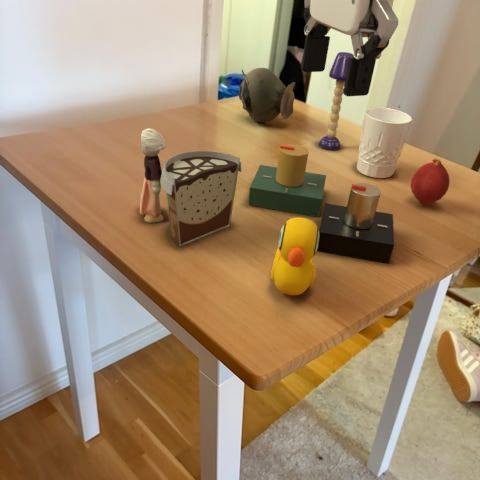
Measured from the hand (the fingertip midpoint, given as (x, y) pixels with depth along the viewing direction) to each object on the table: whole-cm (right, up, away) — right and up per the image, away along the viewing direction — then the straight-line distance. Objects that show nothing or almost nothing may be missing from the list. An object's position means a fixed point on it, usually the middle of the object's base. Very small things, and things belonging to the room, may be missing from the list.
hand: (332, 82), depth 64 cm
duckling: (-5, -25, +2) cm, 26 cm away
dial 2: (+5, -15, +10) cm, 19 cm away
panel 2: (+5, -17, +12) cm, 22 cm away
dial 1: (-4, -7, +19) cm, 20 cm away
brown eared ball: (-7, +13, +48) cm, 50 cm away
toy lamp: (+6, +5, +40) cm, 41 cm away
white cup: (+13, -2, +32) cm, 35 cm away
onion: (+19, -10, +23) cm, 31 cm away
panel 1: (-4, -9, +21) cm, 23 cm away
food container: (-18, -16, +11) cm, 27 cm away
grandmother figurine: (-24, -14, +13) cm, 30 cm away
